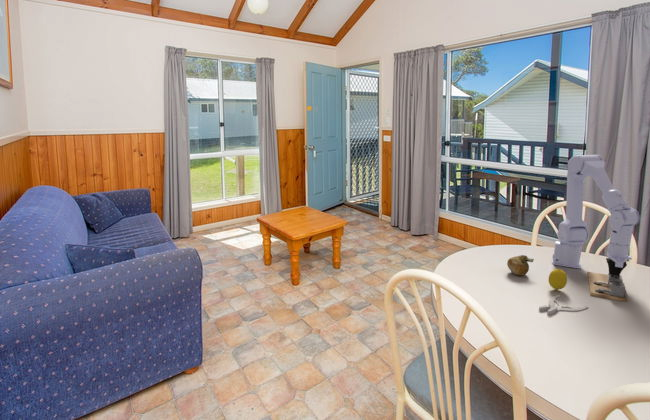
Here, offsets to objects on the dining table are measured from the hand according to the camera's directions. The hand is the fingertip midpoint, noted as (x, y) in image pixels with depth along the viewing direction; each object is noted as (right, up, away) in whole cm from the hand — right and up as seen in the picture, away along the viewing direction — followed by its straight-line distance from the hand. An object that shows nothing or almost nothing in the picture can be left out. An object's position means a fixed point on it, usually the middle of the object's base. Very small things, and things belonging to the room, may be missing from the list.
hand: (613, 279), depth 140 cm
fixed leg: (-6, -3, -7) cm, 10 cm away
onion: (-28, 0, +12) cm, 30 cm away
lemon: (-21, -3, -2) cm, 22 cm away
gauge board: (-3, -3, 0) cm, 4 cm away
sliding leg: (-3, -2, -2) cm, 4 cm away
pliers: (-27, -7, -13) cm, 31 cm away
